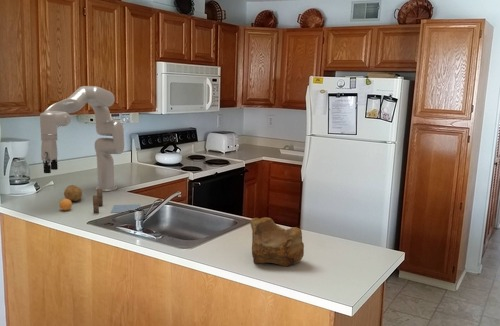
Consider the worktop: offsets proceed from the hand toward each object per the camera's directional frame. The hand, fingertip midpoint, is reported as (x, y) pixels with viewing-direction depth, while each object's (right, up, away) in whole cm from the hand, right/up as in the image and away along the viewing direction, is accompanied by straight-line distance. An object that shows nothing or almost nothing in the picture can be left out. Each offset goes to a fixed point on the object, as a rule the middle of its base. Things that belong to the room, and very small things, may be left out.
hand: (50, 171), depth 235 cm
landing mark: (+35, -20, +10) cm, 41 cm away
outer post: (+22, -21, +1) cm, 31 cm away
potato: (+3, -17, +24) cm, 29 cm away
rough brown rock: (+108, -34, -56) cm, 126 cm away
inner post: (+20, -19, +14) cm, 31 cm away
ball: (+6, -17, +5) cm, 19 cm away
